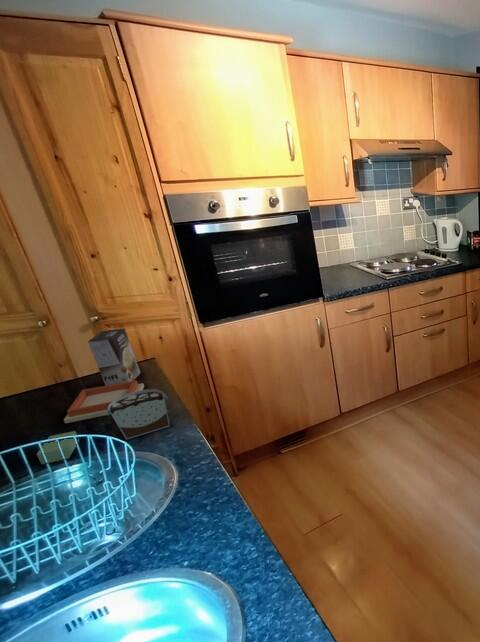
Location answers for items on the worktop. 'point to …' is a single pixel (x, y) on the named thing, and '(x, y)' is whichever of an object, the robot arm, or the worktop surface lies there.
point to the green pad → (53, 450)
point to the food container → (140, 412)
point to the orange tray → (98, 400)
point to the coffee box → (114, 356)
